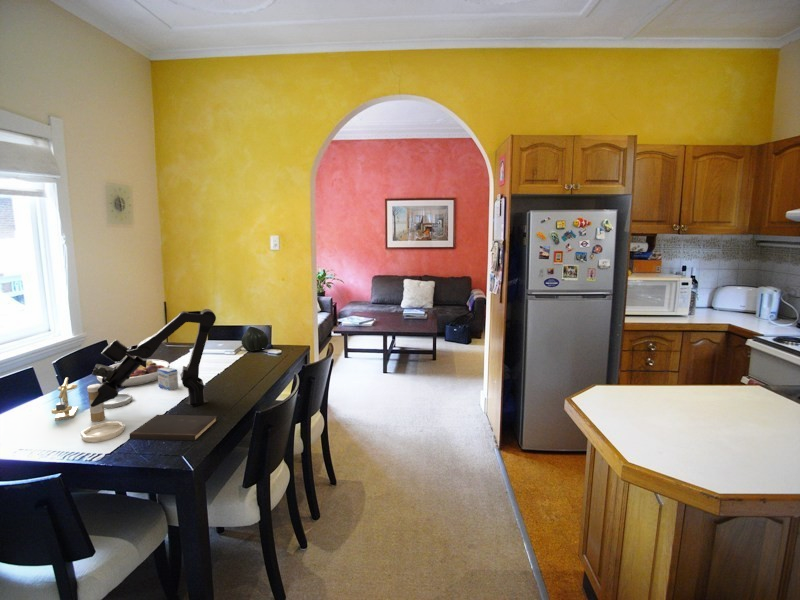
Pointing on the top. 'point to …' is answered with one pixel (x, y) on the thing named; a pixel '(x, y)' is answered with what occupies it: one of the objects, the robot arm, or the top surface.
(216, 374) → the top surface
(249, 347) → the squash
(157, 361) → the bowl
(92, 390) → the sprinkles bottle
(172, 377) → the medicine box
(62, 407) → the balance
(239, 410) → the top surface
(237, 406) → the top surface
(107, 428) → the cream dish
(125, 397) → the slate dish
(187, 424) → the hardcover book
